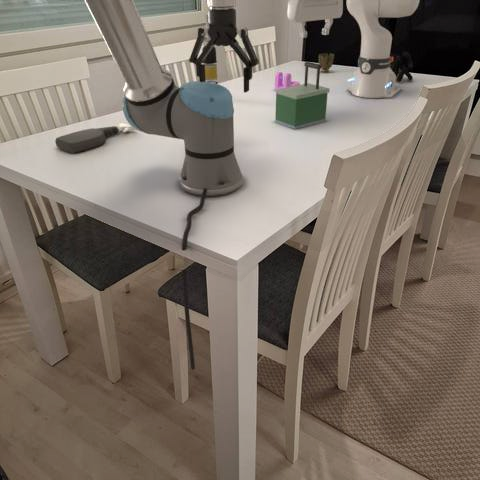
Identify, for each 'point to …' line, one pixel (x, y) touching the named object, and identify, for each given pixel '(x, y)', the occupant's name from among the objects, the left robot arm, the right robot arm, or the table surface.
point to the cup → (326, 61)
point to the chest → (300, 110)
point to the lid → (305, 86)
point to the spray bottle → (88, 138)
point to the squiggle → (401, 66)
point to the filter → (210, 61)
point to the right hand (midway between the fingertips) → (314, 36)
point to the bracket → (287, 81)
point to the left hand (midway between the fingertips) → (224, 89)
